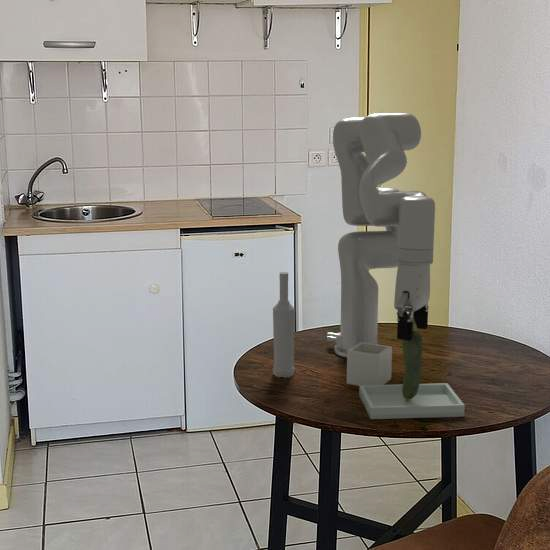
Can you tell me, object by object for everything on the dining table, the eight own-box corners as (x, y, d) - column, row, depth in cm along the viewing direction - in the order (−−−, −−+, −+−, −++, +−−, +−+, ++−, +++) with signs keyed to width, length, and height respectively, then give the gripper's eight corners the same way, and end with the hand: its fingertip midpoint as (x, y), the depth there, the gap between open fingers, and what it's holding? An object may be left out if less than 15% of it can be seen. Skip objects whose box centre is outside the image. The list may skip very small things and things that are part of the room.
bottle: (268, 374, 219) (268, 273, 213) (283, 369, 222) (283, 269, 217) (284, 379, 215) (284, 276, 210) (298, 374, 219) (299, 272, 214)
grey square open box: (346, 383, 212) (347, 350, 211) (359, 373, 219) (360, 341, 218) (378, 389, 209) (379, 355, 207) (391, 378, 216) (392, 346, 214)
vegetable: (421, 399, 200) (425, 311, 195) (418, 406, 196) (421, 317, 191) (401, 397, 201) (405, 310, 196) (397, 404, 197) (401, 315, 192)
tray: (370, 419, 191) (370, 407, 190) (359, 396, 204) (359, 385, 204) (464, 416, 192) (464, 405, 192) (446, 393, 206) (447, 383, 205)
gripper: (411, 247, 200) (409, 322, 204) (383, 261, 185) (381, 341, 189) (445, 250, 197) (441, 326, 201) (418, 264, 182) (415, 346, 186)
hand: (412, 333), depth 195 cm, fingers open, 9 cm apart
